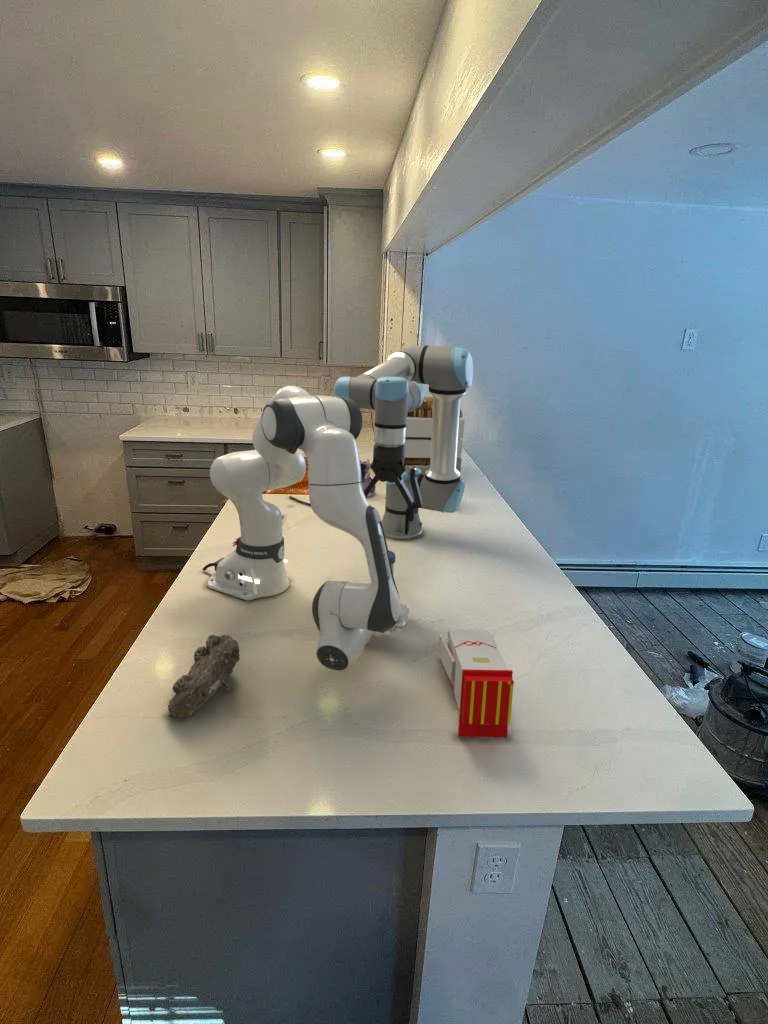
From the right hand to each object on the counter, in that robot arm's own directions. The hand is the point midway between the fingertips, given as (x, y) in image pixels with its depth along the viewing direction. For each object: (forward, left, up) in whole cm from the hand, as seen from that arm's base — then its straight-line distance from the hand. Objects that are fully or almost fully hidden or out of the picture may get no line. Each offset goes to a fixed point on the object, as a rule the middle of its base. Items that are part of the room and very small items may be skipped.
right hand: (385, 529), depth 143 cm
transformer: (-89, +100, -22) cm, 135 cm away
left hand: (+3, -5, -16) cm, 17 cm away
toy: (+38, -8, -22) cm, 45 cm away
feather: (-72, +13, -22) cm, 77 cm away
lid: (0, 0, -7) cm, 7 cm away
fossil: (+4, -50, -22) cm, 55 cm away
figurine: (-77, +56, -22) cm, 98 cm away
